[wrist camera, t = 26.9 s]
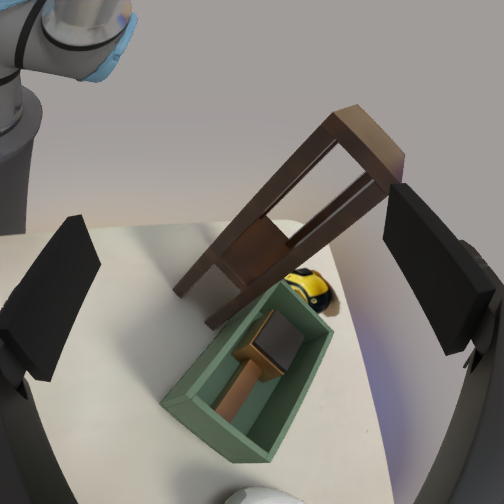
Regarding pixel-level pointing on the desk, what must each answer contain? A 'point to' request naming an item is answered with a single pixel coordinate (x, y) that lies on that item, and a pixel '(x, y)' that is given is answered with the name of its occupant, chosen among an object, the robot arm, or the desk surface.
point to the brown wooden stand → (316, 229)
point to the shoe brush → (259, 360)
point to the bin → (262, 394)
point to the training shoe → (262, 497)
